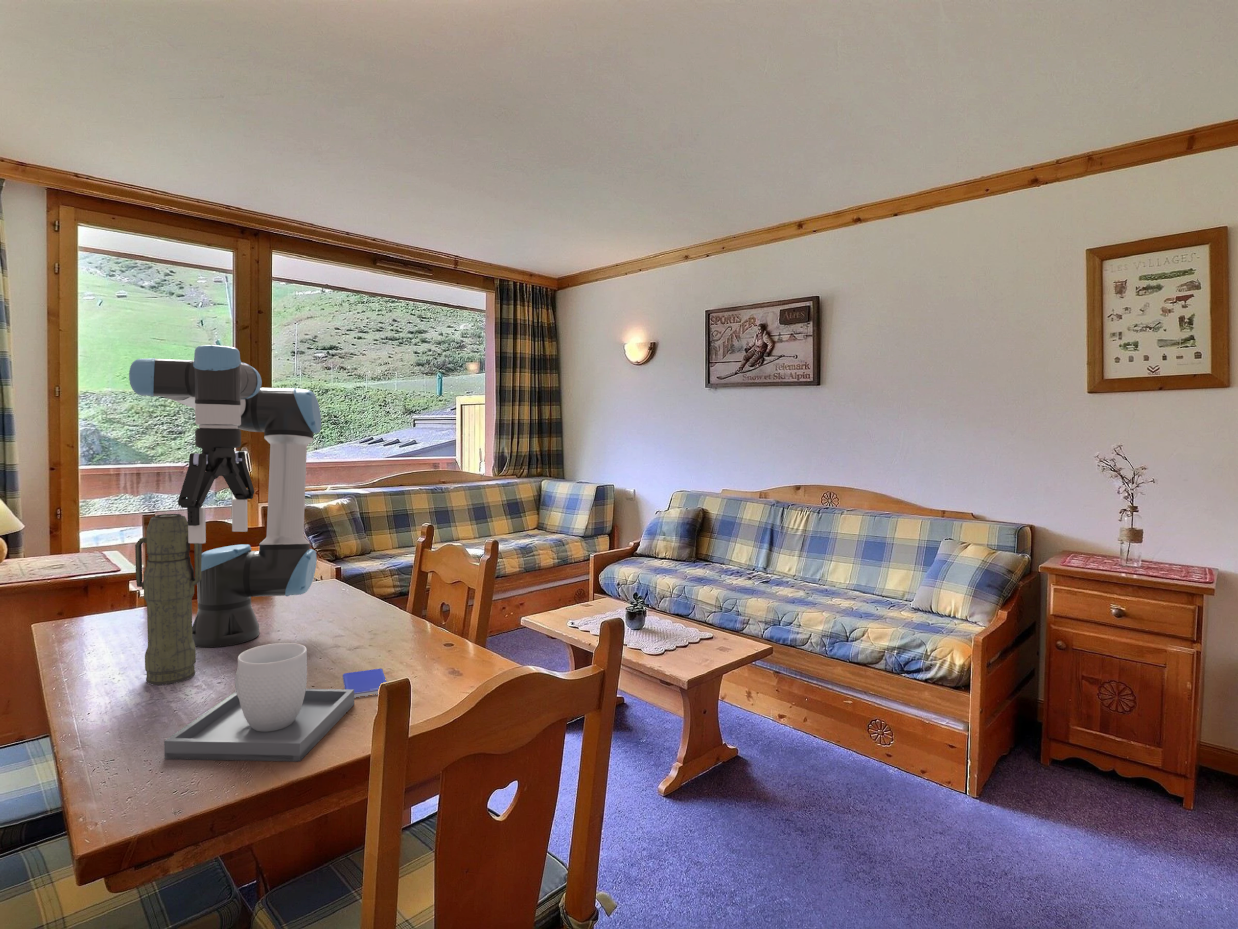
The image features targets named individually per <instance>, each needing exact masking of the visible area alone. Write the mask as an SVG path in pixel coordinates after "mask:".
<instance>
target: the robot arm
mask: <svg viewBox="0 0 1238 929" xmlns="http://www.w3.org/2000/svg"><path fill="white" fill-rule="evenodd" d="M240 353H241V352H240V351H239V349H238V348H237V347H233V346H226V345H214V344H204V345H201V344H200V345H199V346H196V348H195V349H194V356H193V359H169V358H168V359H167V358H156V357H152V358H151V357H150V358H147V357H146V358H137V359H135V360H134V361H133V362H132V363H131V365H130V367H129V373H128V378H129V379H128V381H129V385H130V387H131V389H132V391H133V392H134V393H135V394H137V395H138V396H143V397H144V396H145V397H151V398H154V397H163V398H166V399H168V400H172V401H174V402H176V403H179V404H182V405H184V406H187V407H189V408H192V409H195V410H194V417H195V418H194V419H195V420H194V423H195V425H196V426H198V427H197V428H196V429H195V430H194V435H195V436H194V438H195V443H194V445H195V446H196V447H197V448H201V453H194V452H193V453H191V452H190V453H189V458H188V467H187V470H186V474H185V477H184V480H183V483H182V487H181V491H180V493H179V496H178V501H177V504H178V505H179V506H180V508H182V509H183V508H186V509H187V522H188V543H190V544H193V543H202V544H206V543H207V542H206V541H207V538H206V537H207V533H206V530H207V529H206V527H207V524H206V523H207V522H206V521H207V520H206V507H202V506H203V504H204V502H205V500H206V498H207V496H208V494H209V491H210V490H211V488H212V485H213V483H214V482H215V480H216V479H218V478H219V477H223V479H224V481H225V483H226V484H227V486H228V488H229V490H230V492H231V494H232V495H233V497H234V499H232V500H231V532H233V533H234V532H242V533H243V532H245V533H246V532H248V528H249V527H248V500H252V499H254V494H255V488H254V485H253V482H252V479H251V476H250V472H249V469H248V465H247V461H246V452H245V451H242V450H235V449H236V448H237V449H238V448H240V447H241V446H242V431H246V432H247V431H248V432H253V433H254V432H255V433H264V435H263V436H264V438H263V439H264V440H265V441H267V443H268V444H270V446H269V447H270V448H269V472H268V473H269V474H268V493H267V494H268V496H267V516H266V517H267V519H266V520H267V521H266V537H265V538H264V539H263V540H262V541H260V543H259V548H258V550H252V549H253V548H252V547H251V546H252V545H250V544H234V545H233V544H232V545H228V546H222V547H216V548H213V549H209V550H206V551H204V552H203V551H202V561H201V576H202V579H201V580H200V581H199V582H198V583H197V584H196V586H197V590H196V591H197V613H196V616H195V618H194V621H193V622H192V638H193V640H194V643H195V647H200V648H218V647H227V646H235V645H239V644H243V643H246V642H249V641H252V640H254V639H256V638H257V637H258V636H259V635H260V624H259V621H258V619H257V616H256V614H255V611H254V609H253V607H252V598H253V597H254V598H255V597H283V596H284V597H290V596H302V595H304V594H306V593H307V592H309V590H310V588H311V586H312V584H313V581H314V577H315V575H316V571H317V570H316V569H317V561H318V560H317V559H318V558H317V552H316V550H314V549H312V548H311V547H310V545H311V542H309V540H308V539H307V538H305V536H304V532H305V527H304V526H305V506H306V505H305V502H306V500H305V499H306V482H307V481H306V480H307V479H306V476H307V453H308V452H307V451H308V448H307V447H308V446H309V445H310V444H311V443H312V442H313V441H314V434H318V433H320V432H321V429H322V416H321V415H322V414H321V411H320V404H319V400H318V398H317V396H316V394H315V393H314V392H313V391H312V390H310V389H304V388H295V387H292V388H290V387H287V388H286V387H285V388H284V387H282V388H281V387H262V385H263V384H262V383H263V382H262V377H261V374H260V372H259V371H258V370H257V369H256V368H255V367H253V366H251V365H250V364H248V363H246V362H244V361H243V362H242V360H241V354H240Z"/></svg>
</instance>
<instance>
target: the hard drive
mask: <svg viewBox="0 0 1238 929" xmlns="http://www.w3.org/2000/svg"><path fill="white" fill-rule="evenodd" d="M385 679H386V675H385V673H384V671H383V668H375V669H367V670H359V671H351V672H345V673H343V674H342V681H343V688H344V689H349V690H354V699H356V697H359V698H361V697H360V696H365V697H369V696H368V695H370V694H374V695H373V696H376V695H377V696H378V695H379V694H378V689H379V686H380V684H381V683H383V682H387V679H386V680H385ZM387 683H388V682H387ZM375 694H376V695H375Z"/></svg>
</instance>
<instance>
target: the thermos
mask: <svg viewBox="0 0 1238 929" xmlns="http://www.w3.org/2000/svg"><path fill="white" fill-rule="evenodd" d="M145 533H146V536H143V537H141V538H139V539H138V540H137V542H136V543H135V545H134V550H135V553H134V554H135V555H134V556H135V559H134V560H135V581H136V587H137V588H141V589H142V590H143V599H144V600H145V602H146V616H147V617H146V618H147V648H146V650H145V653H144V670H145V671H146V672H145V673H146V678H145V681H147V682H146V684H148V683H149V684H148V685H151V684H153V685H154V686H166V685H165V684H167V685H172V684H171V683H173V684H176V682H178V683H180V682H184V680H185V681H186V680H189V679H191V678H192V677H194V676H195V674H196V669H195V668H196V667H195V665H196V662H197V658H196V657H197V656H196V655H197V654H196V652H197V651H196V646H195V643H194V640H193V638H192V626H193V597H194V594H195V586H197V583H198V582H199V581H200V580H201V579H202V576H201V561H202V553H203V548H202V547H203V543H192V544H193V545H194V546H193V548H194V550H193V551H194V567H193V565H192V562H191V556H190V551H191V543H188V518H187V517H186V516H185V515H182V513H181V514H180V513H163V514H157V515H154V516H153V517H151V518H150V520H149V523H148V525H147V528H146V532H145ZM142 544H146V554H147V560H146V567H145V570H144V571H143V553H142V552H143V551H142ZM143 572H144V573H143ZM162 684H163V685H162ZM153 685H152V686H153Z"/></svg>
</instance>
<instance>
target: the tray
mask: <svg viewBox="0 0 1238 929" xmlns="http://www.w3.org/2000/svg"><path fill="white" fill-rule="evenodd" d="M354 705H355V698H354V690H349V689H345V688H344V689H340V688H339V689H338V688H335V689H334V688H306V692H305V696H304V700H303V704H302V707H301V709H300V712H299V713H298V715H297V717H296V719H295V720H294V722H293V723H292V724H291V725H289V726H287V727H285V728H283V729H280V730H276V731H271V732H260V731H256V730H254V729H253V728H252V727H251V726H250V725H249V724H248V722H247V721H246V719H245V716H244V714H243V711H242V709H241V705H240V701H239V698H238V696H237V694H236V691H235V692H233V693H232V694H230V695H229V696H227V697H226V698H225V699H223V700H221V701H220V702H219V703H218V704H216V705H214V706H213V707H212V708H210V709H208V710H207V711H205V713H203V714H201V715H200V716H198V717H197V718H195V719H194V720H192V721H191V722H190V723H188V724H187V725H185V726H183V728H181V729H180V730H178V731H177V732H175V733H174V734H172V735H171V736H170V737H168V738H166V739H165V740H164V741H163V742H164V744H163V745H164V746H163V748H164V753H163V754H164V760H195V761H196V760H197V761H199V760H201V761H204V760H205V761H251V762H252V761H254V762H255V761H257V762H258V761H259V762H262V761H264V762H301V761H302V760H303V759H304V758H305V757H306V756H307V755H308V753H309V752H310V751H312V750H313V748H314V747H315V746H317V744H319V742H320V741H321V740H322V739H324V737H325V736H326V735H327V734H328V733H329V731H331V730H332V729H333V727H334V726H335V725H336V724H337V723H338V722H340V720H341V719H342V718H343V717H344V715H346V714H347V713H348V712H349V710H351V708H353V707H354ZM346 712H347V713H346Z"/></svg>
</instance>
